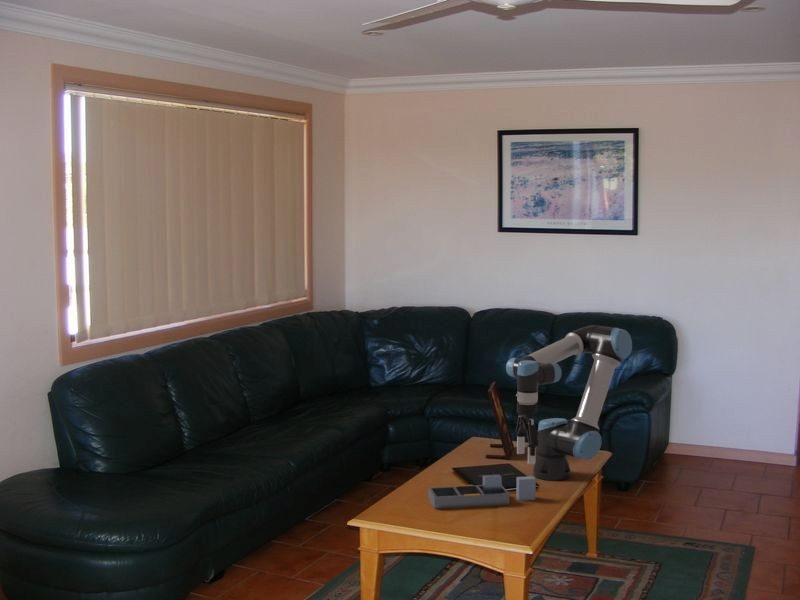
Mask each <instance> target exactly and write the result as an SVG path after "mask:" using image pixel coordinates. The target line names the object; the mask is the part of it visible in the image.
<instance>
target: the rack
mask: <svg viewBox="0 0 800 600" xmlns="http://www.w3.org/2000/svg"><path fill="white" fill-rule="evenodd" d="M502 478H503V477H502V476H501V475H500V474H488V475H487V474H486V475H482V484H476V485H474V484H464V485H463V484H462V485H461V484H460V485H459V484H457V485H456V486H438V487H435V486H434V487H428V491H427V492H428V493H427V495H428V497H427V498H428V500H429V502H430V504H431V505H432V507H433V510H437V509H456V508H457V509H458V508H472V507H474V508H475V507H492V506H509V505H510V492H509V491H508V490H507V489H506V488H505V487H504V486H503V481H502V480H503V479H502Z"/></svg>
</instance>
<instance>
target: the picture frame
mask: <svg viewBox="0 0 800 600" xmlns="http://www.w3.org/2000/svg"><path fill="white" fill-rule="evenodd" d="M487 394H488V398H489V403H490V406H491V408H492V409H491V410H492V413H493V417H494V421H495V423H496V427H497V431H498V434H499V438H500V442H501V443H490V444H489V447H490V448H502V449H503V452H504V454H485V458H486V459H501V460H502V459H503V460H506V461H508V460H509V461H510V460H511V457H512V453H513V451H514V448H515V445H514V441H513V439H512V436H511V435H512V434H511V431H510V427H509V424H508V420H507V418H506V417H507V416H506V413H505V410H504V405H503V402H502V399H501V396H500V391H499V388H498V384H497V381H492V383H490V386H489V388H488V390H487Z"/></svg>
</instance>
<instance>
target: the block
mask: <svg viewBox="0 0 800 600" xmlns="http://www.w3.org/2000/svg"><path fill="white" fill-rule="evenodd" d="M536 483H537V479H536V477H535V476H534V475H533V476H532V475H531V476H516V487H515V489H516V493H515V494H516V495H515V497H516V499H517V500H518V501H532V500H533V501H534V500H536V490H537V489H536V486H537V484H536Z"/></svg>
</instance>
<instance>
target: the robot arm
mask: <svg viewBox="0 0 800 600" xmlns="http://www.w3.org/2000/svg"><path fill="white" fill-rule="evenodd" d="M632 350H633V341H632V337H631V334H630V333H629V331H627V330H626V329H622V328H619V327H610V326H604V325H603V326H602V325H597V324H596V325H595V324H594V325H586V326H583V327H580V328H577V329H576V330H573V331H572V332H568V333H567V334H566V335H565V337H564V338H561V339H560V340H557V341H555V342H553V343H551V344H549V345H546V346H545V347H543V348H541V349H538V350H536V351H534V352H532V353H530V354H527V355H524V356H523V357H521V358H519V357H511V358H510V359H508V361H507V362H506V364H505V371H506V374H507V375H508V376H509V377H512V378H515V379H516V380H517V382H516V383H517V386H516V387H517V388H516V391H517V392H516V394H515V397H517V399H516V401H517V403H516V413H517V414H518V415H517V421H516V427H515V434H516V438H517V439H516V442H517V443H516V454H517V455H524V454H525V446H527V465H533V468H532V475H533V477H534V478H537V479H540V480H544V481H565V480H567V479H570V478H571V476H572V475H571V473H572V471H571V467H570V463H569V461H568V456H570V457H572V458H573V457H574V458H576V459H578V460H585V461H586V460H592V458H594V457H595V456H596V455H598V453H599V451H600V449H601V447H602V436H601V434H600V427H599V425H598V423H599V419H600V416H601V414H602V411H603V406H604V403H605V400H606V398H607V395H608V391H609V389H610V385H611V383H612V379H613V376H614V373H615V369H616V367H619V366H621V364H622V361H623V360H626V359H627V358H628V357H630V355H631V353H632ZM581 354H592V355H591V357H592V358H593V364H592V367H591V370H590V372H589V376H588V379H587V382H586V385H585V388H584V392H583V394H582V397H581V401H580V404H579V407H578V410H577V412H576V416H574V417H573V418H571V419H570V421H569V422H568V419H567V418H559V417H555V418H554V417H553V418H546V419H541V420H540V421H539V422H538V428H537V424H536V423H537V422H536V421H537V419H535V418H533V416H534V415H536V414H538V399H539V394H538V393H539V391H538V389H539V386H541V385H542V386H543V385H549V384H554V383H558V382H559V381H560V380H561V378H562V368H561V366H560V365H559V364H558V363H559V362H562V361H563V360H565V359H567V358H569V357H571V356H573V355H574V356H580V355H581ZM526 437H527V441H528V444H527V445H525V441H526ZM536 450H537V451H536ZM536 452H537V455H536ZM536 456H537V457H536Z"/></svg>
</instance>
